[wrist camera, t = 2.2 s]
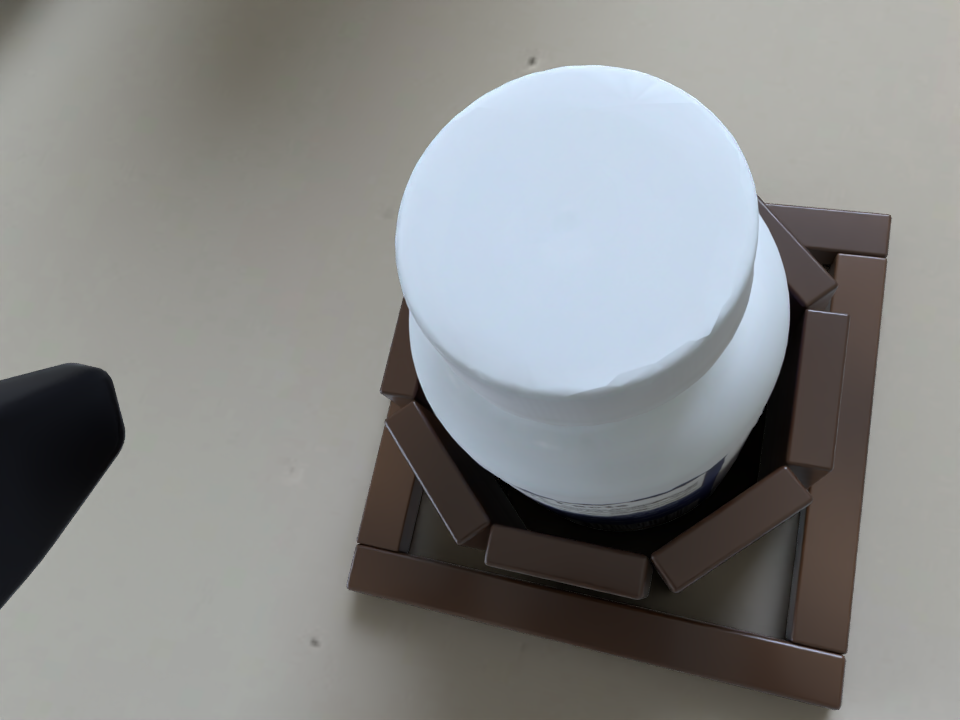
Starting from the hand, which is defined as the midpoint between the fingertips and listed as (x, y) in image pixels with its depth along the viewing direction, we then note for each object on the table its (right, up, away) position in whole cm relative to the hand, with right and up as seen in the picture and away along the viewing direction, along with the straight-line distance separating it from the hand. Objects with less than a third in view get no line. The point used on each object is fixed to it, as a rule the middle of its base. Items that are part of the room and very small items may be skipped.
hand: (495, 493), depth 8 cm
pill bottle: (+3, 0, +10) cm, 11 cm away
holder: (+3, 0, +10) cm, 10 cm away
